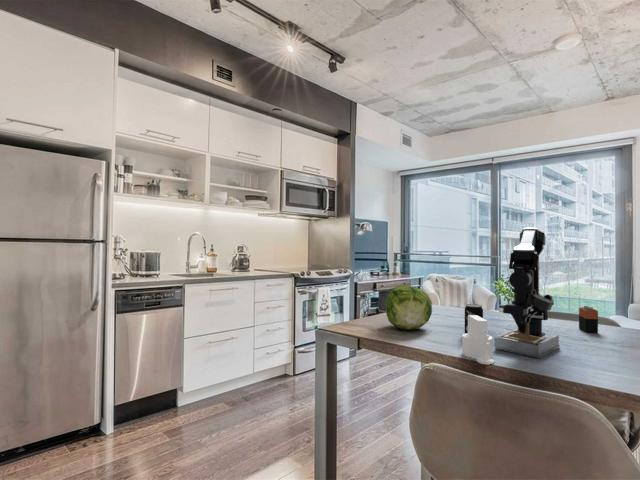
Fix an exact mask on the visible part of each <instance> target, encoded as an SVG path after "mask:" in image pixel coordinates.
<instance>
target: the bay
mask: <svg viewBox="0 0 640 480" xmlns="http://www.w3.org/2000/svg"><path fill="white" fill-rule="evenodd" d="M513 332H514V333H518V327H516V328H513V329H511V330H509V331H506V332H503V333H501V334H499V335H496V336H494V343H493V344H494V345H493V346H494V349H495V350H498V349H499V351H502V350H504V351H503V352H507V351H509V352H508V353H511V352H514V353H513V354H516V353H518V354H517V355H521V354H523V355H522V356H525V355H527V356H526V357H530V356H532V357H531V358H535V357H536V358H535V359H539V358H541V359H543V358H544V357H546V356H548V355H549V354H551V353H554V352H555V351H557V350H558V349H560V344H559V343H560V335H559V334H555V333H554V334H553V335H550V336H549V337H547V338H544V340H542V341H540V342H538V343H536V344H534V343H529V342H524V341H518V340H513V339H508V338H503V336H505V335H508V334H510V333H513ZM542 357H543V358H542Z"/></svg>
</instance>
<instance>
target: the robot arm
mask: <svg viewBox="0 0 640 480" xmlns="http://www.w3.org/2000/svg"><path fill="white" fill-rule="evenodd" d="M546 238H547V237H546V234H545V232H544V231H541V230H539V228H536V227H525V228H522V231H521V232H520V233H519V241H518V243H519V245H516V246H514V247H513V249H512V251H511V252H510V257H509V265H508V269H509V270H513V271H512V272H511V274H510V275H509V279H508V281H509V284H510V285H511V286H512V287H513V288H512V289H511V292H512V293H513V297H514V298H513V299H514V300H511V303H508V304H505V305H504V306H502V312H503V314H507V315H508V314H509V315H511V316H512V318H513V320H514V322H515V324H516V326H517V328H519V330H520V332H521V333H524V332H525V327H526V322H529V335H531V336H536V337H542V336H543V335H546V332H544V331H543V321H549V314H548V313H549V312H548V311H551V309H552V307H553V306H554V304H555V303H554V302H555V300H554V299H553V295H550V294H549V293H547V294H545V295H544V296H543V295H541V293H540V255H541V253H542V252H543V251H544V246H546V242H547V241H546V240H547V239H546Z"/></svg>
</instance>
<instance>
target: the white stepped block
mask: <svg viewBox="0 0 640 480" xmlns="http://www.w3.org/2000/svg"><path fill="white" fill-rule="evenodd" d="M484 329H487V330H488V320H487V319H485V318H484V317H483V318H481V317H479V316H477V315H468V333H466V334H465V333H463V334H462V338H461V339H462V346H461V347H462V351H461V352H462V353H463V354H464V355H465V356H464V355H463V354H462V355H463V356H464V357H466V356H468V357H467V358H469V357H473V358H479V357H482V355H483V349H484V345H483V344H482V342H484V341H483V338H482V335H484V333H483V331H484ZM487 342H488V343H489V345H487V348H488V355H489V357H490V358H491V357H492V358H493V336H491V335H489V338H488V341H487ZM473 358H472V359H473ZM492 358H491V359H492Z"/></svg>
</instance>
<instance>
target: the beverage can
mask: <svg viewBox="0 0 640 480" xmlns="http://www.w3.org/2000/svg"><path fill="white" fill-rule="evenodd" d="M468 315H477V316H479V317H481V318H483V319H484V309H483V306H482V304H476V303H467V304H465V306H464V334H466V333H468Z"/></svg>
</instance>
